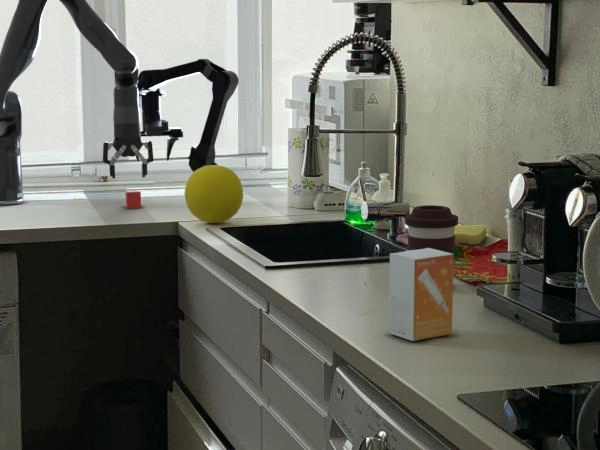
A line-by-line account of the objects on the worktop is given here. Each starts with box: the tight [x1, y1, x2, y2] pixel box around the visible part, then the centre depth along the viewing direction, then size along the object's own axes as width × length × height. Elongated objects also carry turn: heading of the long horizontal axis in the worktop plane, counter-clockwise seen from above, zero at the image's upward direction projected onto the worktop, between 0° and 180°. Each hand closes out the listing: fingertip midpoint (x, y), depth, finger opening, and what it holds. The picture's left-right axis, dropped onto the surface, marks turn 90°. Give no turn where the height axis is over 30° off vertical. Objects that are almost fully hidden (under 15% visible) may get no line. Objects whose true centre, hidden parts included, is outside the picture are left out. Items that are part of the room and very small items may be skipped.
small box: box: [388, 248, 455, 342], centre depth 164 cm, size 8×6×13 cm
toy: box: [184, 164, 244, 224], centre depth 272 cm, size 15×15×15 cm
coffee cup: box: [404, 204, 459, 255], centre depth 197 cm, size 10×10×15 cm
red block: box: [124, 189, 142, 209], centre depth 302 cm, size 4×5×5 cm
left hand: (128, 177), depth 301 cm, fingers open, 8 cm apart
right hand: (152, 161), depth 326 cm, fingers open, 9 cm apart
